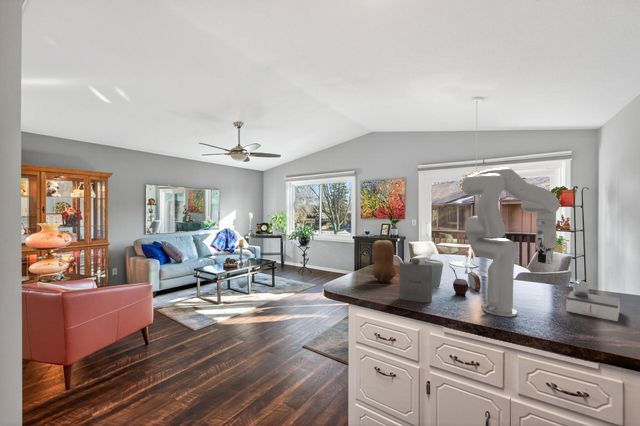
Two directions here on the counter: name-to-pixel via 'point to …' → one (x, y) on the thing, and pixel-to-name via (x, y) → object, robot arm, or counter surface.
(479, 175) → the robot arm
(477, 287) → the bread slice
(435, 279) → the disposable coffee cup
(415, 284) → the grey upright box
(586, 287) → the spacer
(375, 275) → the butternut squash
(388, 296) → the counter surface
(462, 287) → the mate gourd
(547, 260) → the spacer
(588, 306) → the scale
